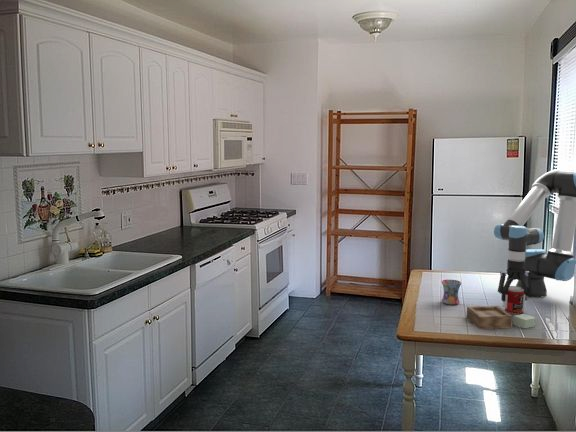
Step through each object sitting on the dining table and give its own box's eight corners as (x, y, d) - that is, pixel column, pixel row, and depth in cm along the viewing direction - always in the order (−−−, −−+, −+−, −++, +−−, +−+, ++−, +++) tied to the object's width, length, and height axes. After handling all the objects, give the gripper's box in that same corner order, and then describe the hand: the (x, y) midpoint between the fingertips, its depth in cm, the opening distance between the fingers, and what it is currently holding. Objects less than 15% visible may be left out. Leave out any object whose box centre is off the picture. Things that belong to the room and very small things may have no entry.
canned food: (514, 314, 249) (516, 291, 248) (500, 309, 256) (501, 287, 255) (526, 312, 253) (527, 289, 251) (512, 307, 260) (513, 285, 258)
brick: (523, 322, 239) (523, 313, 239) (534, 326, 234) (535, 317, 234) (513, 324, 237) (513, 315, 236) (524, 329, 231) (525, 319, 231)
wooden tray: (497, 317, 246) (497, 306, 245) (511, 327, 232) (511, 316, 231) (466, 317, 245) (467, 306, 245) (478, 328, 232) (479, 316, 231)
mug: (456, 307, 261) (457, 285, 259) (437, 303, 266) (438, 282, 264) (464, 301, 270) (465, 280, 269) (446, 297, 276) (447, 277, 274)
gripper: (534, 257, 255) (531, 304, 258) (491, 258, 254) (488, 305, 257) (542, 261, 248) (539, 309, 251) (497, 261, 247) (495, 310, 250)
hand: (513, 307), depth 254 cm, fingers closed on canned food, 8 cm apart
